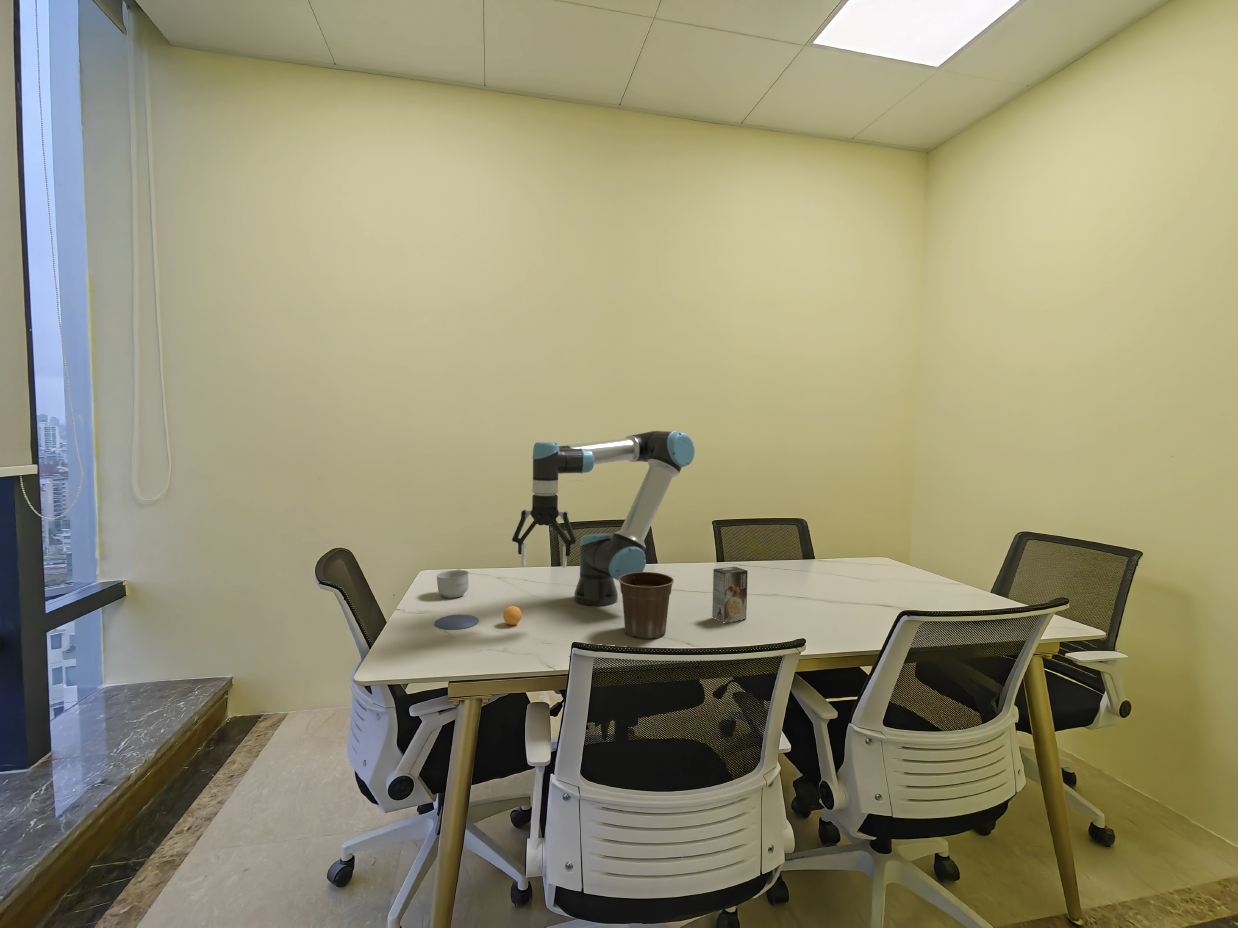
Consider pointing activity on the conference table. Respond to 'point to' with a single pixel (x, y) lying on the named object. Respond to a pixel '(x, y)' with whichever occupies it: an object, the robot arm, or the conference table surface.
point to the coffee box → (729, 594)
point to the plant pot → (645, 603)
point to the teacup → (453, 583)
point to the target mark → (456, 622)
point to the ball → (512, 615)
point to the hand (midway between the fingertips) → (544, 565)
